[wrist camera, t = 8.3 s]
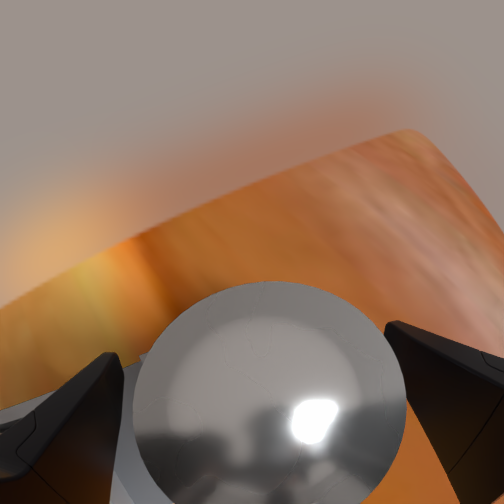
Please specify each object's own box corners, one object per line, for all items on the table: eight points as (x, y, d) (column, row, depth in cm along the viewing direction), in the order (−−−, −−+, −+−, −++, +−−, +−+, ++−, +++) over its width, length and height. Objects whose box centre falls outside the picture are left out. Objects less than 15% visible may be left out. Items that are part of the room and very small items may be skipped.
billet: (290, 438, 14) (396, 518, 4) (199, 435, 14) (132, 522, 3) (293, 354, 17) (400, 286, 6) (204, 350, 16) (148, 272, 6)
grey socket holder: (51, 523, 10) (27, 537, 7) (1, 417, 13) (-30, 416, 10) (342, 416, 16) (366, 419, 13) (275, 300, 19) (285, 281, 16)
